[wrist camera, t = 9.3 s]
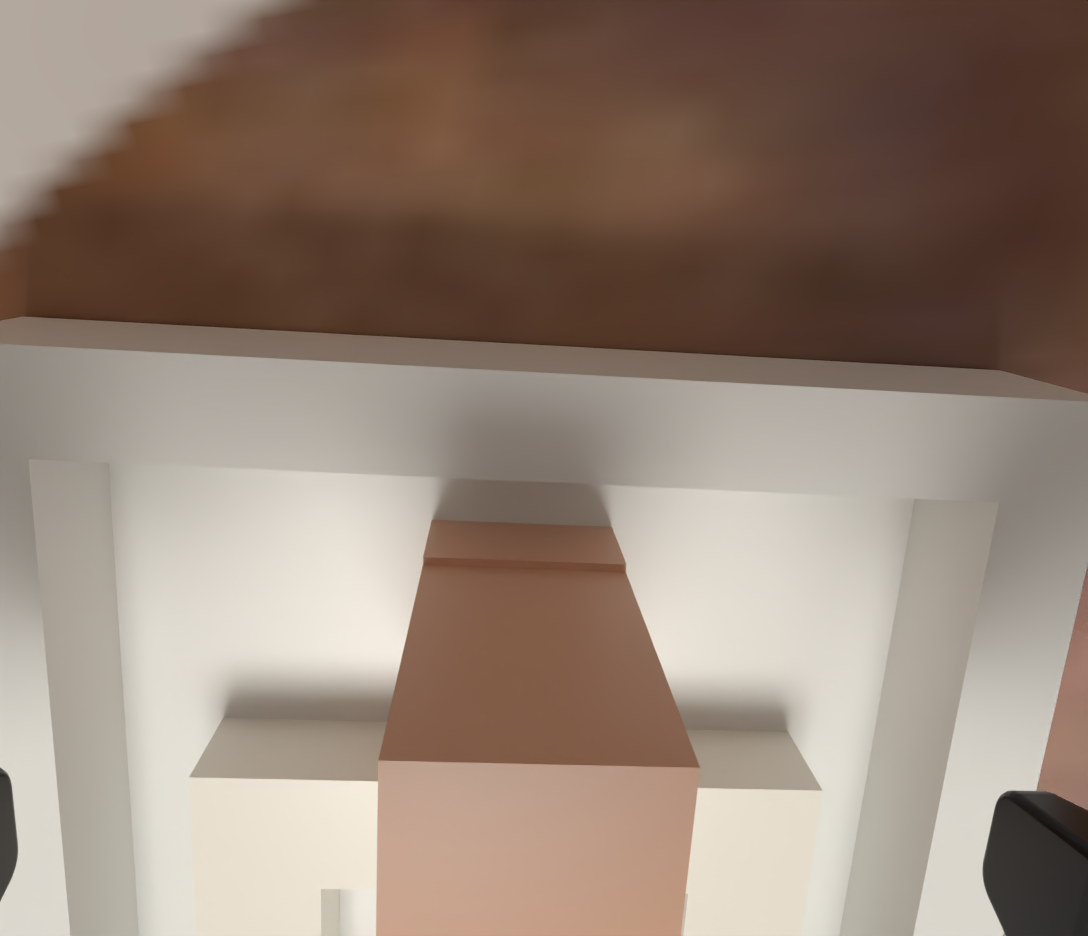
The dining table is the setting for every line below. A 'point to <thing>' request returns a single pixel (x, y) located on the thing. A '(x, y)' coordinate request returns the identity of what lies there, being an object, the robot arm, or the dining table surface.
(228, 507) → the tray
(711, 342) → the dining table surface
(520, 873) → the ring
